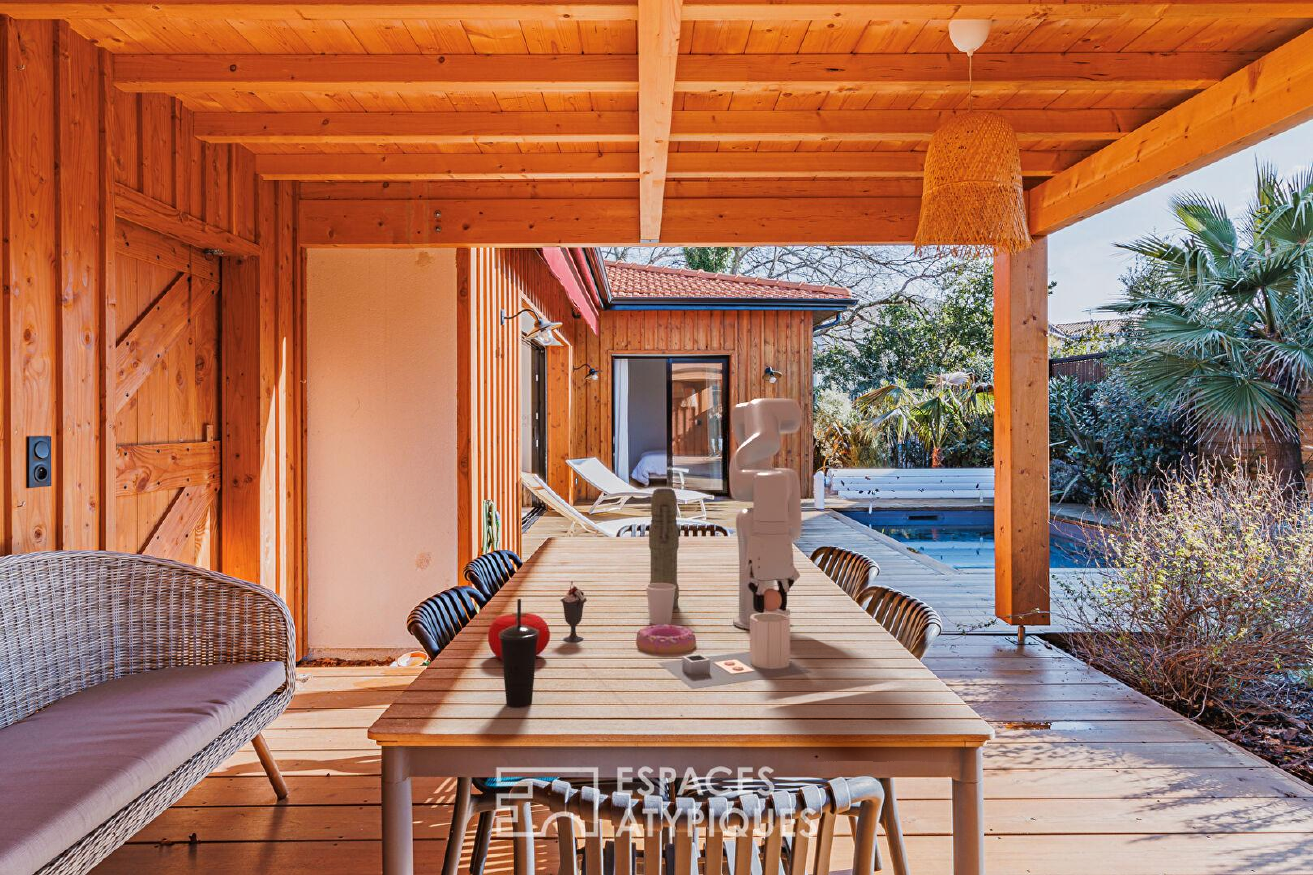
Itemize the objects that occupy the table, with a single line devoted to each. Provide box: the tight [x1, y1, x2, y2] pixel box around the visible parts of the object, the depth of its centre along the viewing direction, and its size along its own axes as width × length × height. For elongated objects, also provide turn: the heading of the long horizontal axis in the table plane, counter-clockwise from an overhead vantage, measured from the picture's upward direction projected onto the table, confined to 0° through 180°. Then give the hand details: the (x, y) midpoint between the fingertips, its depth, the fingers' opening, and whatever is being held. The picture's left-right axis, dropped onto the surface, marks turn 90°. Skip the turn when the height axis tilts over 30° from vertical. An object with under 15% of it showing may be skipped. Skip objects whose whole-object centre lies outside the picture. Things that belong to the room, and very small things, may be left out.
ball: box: [762, 588, 782, 612], centre depth 169 cm, size 5×5×5 cm
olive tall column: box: [648, 487, 680, 610], centre depth 227 cm, size 9×12×35 cm
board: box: [658, 651, 812, 690], centre depth 165 cm, size 28×18×2 cm, turn 112°
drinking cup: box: [499, 598, 539, 709], centre depth 147 cm, size 8×8×20 cm
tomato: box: [487, 612, 551, 660], centre depth 176 cm, size 14×13×10 cm
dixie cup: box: [645, 583, 676, 625], centre depth 209 cm, size 8×8×10 cm
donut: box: [635, 624, 697, 655], centre depth 182 cm, size 14×14×5 cm
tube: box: [749, 613, 791, 669], centre depth 169 cm, size 9×9×10 cm
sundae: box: [559, 581, 588, 643], centre depth 191 cm, size 7×7×15 cm
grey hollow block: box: [681, 653, 710, 676], centre depth 162 cm, size 4×4×3 cm
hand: (770, 609), depth 169 cm, fingers closed on ball, 4 cm apart
